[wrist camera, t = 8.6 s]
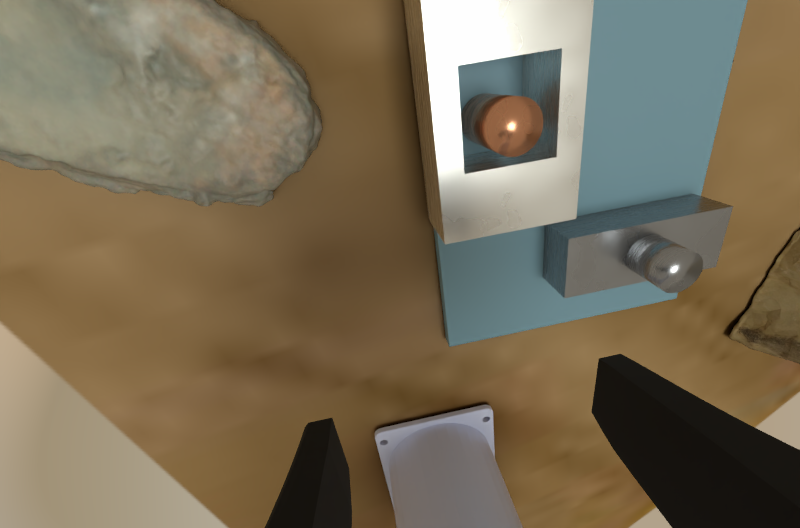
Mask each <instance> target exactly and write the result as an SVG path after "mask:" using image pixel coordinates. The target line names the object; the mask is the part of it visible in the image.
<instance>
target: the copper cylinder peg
mask: <svg viewBox="0 0 800 528" xmlns="http://www.w3.org/2000/svg"><path fill="white" fill-rule="evenodd" d="M461 127H462V132H463V134H464V135H465V137H466V138H467V139H469V140H470V141H472V142H474V143H476V144H479V145H481V146H483V147H485V148H487V149H490V150H492V151H494V152H496V153H499V154H501V155H503V156H506V157H517V156H520V155H523V154H525V153H526V152H528V151H529V150H530V149H532V148H533V147H534V145H535V144H536V143H537V141H538V140H539V138H540V136H541V133H542V129H543V114H542V111H541V109H540V107H539V106H538V104H537V103H536V102H535V101H534V100H532V99H530V98H528V97H524V96H512V95H499V94H486V93H484V94H479V95H476V96H474V97H473V98H471V99H470V100H469V101H468V102H467V103H466V104H465V106H464V108H463V110H462V112H461Z"/></svg>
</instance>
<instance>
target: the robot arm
mask: <svg viewBox="0 0 800 528" xmlns="http://www.w3.org/2000/svg"><path fill="white" fill-rule="evenodd" d="M592 413H593V415H594V417H595V419H596V420H597V422H598V424H599V426H600V427H601V429H602V431H603V433H604V434H605V436H606V438H607V439H608V441H609V442H610V444H611V446H612V447H613V449H614V450H615V452H616V453H617V455H618V456H619V457H620V459H621V460H622V461H623V463H624V464H625V465H626V467H627V468H628V469H629V471H630V472H631V474H632V475H633V476H634V478H635V479H636V480H637V482H638V483H639V484H640V486H641V487H642V488H643V489H644V491H645V492H646V493H647V495H648V496H649V497H650V499H651V500H652V501H653V503H654V504H655V505H656V507H657V508H658V509H659V511H660V512H661V513H662V515H663V516H664V517H665V518H666V520H667V521H668V523H669V524H670V525H671V526H672V528H800V450H798V449H796V448H794V447H792V446H790V445H788V444H786V443H784V442H782V441H780V440H778V439H776V438H774V437H772V436H770V435H768V434H766V433H764V432H762V431H760V430H758V429H756V428H754V427H752V426H750V425H748V424H746V423H745V422H743V421H741V420H739V419H737V418H735V417H733V416H731V415H729V414H728V413H726V412H724V411H722V410H720V409H718V408H716V407H715V406H713V405H711V404H709V403H707V402H705V401H704V400H702V399H700V398H698V397H696V396H695V395H693V394H691V393H689V392H688V391H686V390H684V389H682V388H680V387H679V386H677V385H675V384H673V383H672V382H670V381H668V380H666V379H665V378H663V377H661V376H659V375H658V374H656V373H654V372H652V371H651V370H649V369H647V368H645V367H644V366H642V365H640V364H638V363H636V362H635V361H633V360H631V359H629V358H627V357H625V356H624V355H622V354H618V355H613V356H609V357H604V358H600V359H599V362H598V369H597V377H596V384H595V391H594V399H593V406H592ZM375 440H376V444H377V448H378V452H379V455H380V459H381V463H382V467H383V470H384V474H385V478H386V482H387V485H388V489H389V493H390V497H391V500H392V504H393V508H394V512H395V519H396V527H397V528H523V526H522V524H521V521H520V519H519V517H518V514H517V512H516V509H515V507H514V504H513V502H512V499H511V497H510V495H509V492H508V490H507V487H506V485H505V482H504V480H503V477H502V475H501V473H500V470H499V468H498V465H497V463H496V460H495V449H494V425H493V411H492V408H491V406H489V405H481V406H476V407H472V408H467V409H463V410H459V411H454V412H450V413H445V414H441V415H436V416H432V417H427V418H423V419H419V420H414V421H410V422H405V423H401V424H396V425H392V426H387V427H383V428H379V429H378V430H376V431H375ZM351 527H352V506H351V491H350V477H349V467H348V464H347V461H346V458H345V455H344V452H343V449H342V446H341V443H340V440H339V437H338V434H337V431H336V428H335V425H334V422H333V419H332V418H329V419H324V420H319V421H315V422H310V423H308V424H307V425H306V427H305V429H304V432H303V435H302V438H301V441H300V444H299V446H298V449H297V452H296V455H295V457H294V460H293V462H292V465H291V468H290V470H289V473H288V475H287V478H286V480H285V483H284V485H283V487H282V490H281V492H280V494H279V497H278V499H277V501H276V504H275V506H274V508H273V510H272V513H271V515H270V517H269V520H268V522H267V524H266V526H265V528H351Z"/></svg>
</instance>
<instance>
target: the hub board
mask: <svg viewBox="0 0 800 528" xmlns="http://www.w3.org/2000/svg"><path fill="white" fill-rule="evenodd" d="M746 4H747V0H594V5H593V18H592V30H591V43H590V55H589V68H588V80H587V93H586V105H585V118H584V130H583V142H582V155H581V167H580V180H579V192H578V205H577V216H581V215H586V214H591V213H596V212H601V211H606V210H611V209H616V208H621V207H627V206H632V205H637V204H642V203H647V202H652V201H657V200H662V199H668V198H673V197H678V196H683V195H688V194H696V195H699V196H701V193H702V188H703V184H704V180H705V176H706V172H707V167H708V163H709V159H710V155H711V151H712V146H713V142H714V138H715V134H716V130H717V126H718V121H719V117H720V113H721V109H722V105H723V100H724V96H725V92H726V88H727V84H728V79H729V75H730V71H731V67H732V63H733V59H734V54H735V50H736V46H737V42H738V38H739V33H740V29H741V25H742V21H743V17H744V12H745V8H746ZM522 75H523V55H518V56H512V57H506V58H500V59H494V60H488V61H482V62H475V63H469V64H463V65H458V81H459V96H460V112H462V110H463V108H464V106H465V104H466V103H467V102H468V101H469V100H470V99H471V98H473V97H474V96H476V95H479V94H484V93H486V94H499V95H512V96H522ZM462 142H463V156H465V155H470V154H476V153H481V152H487V151H492V150H490V149H487V148H485V147H483V146H481V145H479V144H476V143H474V142H472V141H470V140H469V139H467V138H466V137H465V135H464V134H463V132H462ZM544 228H545V225H542V226H537V227H532V228H527V229H522V230H517V231H512V232H507V233H501V234H496V235H491V236H486V237H481V238H476V239H471V240H466V241H461V242H455V243H450V244H444V242H443V241H442V239H441V238H440V236H439V235H438V233H437V231H436V230H435V228H434V236H435V245H436V254H437V263H438V271H439V280H440V289H441V298H442V307H443V316H444V325H445V334H446V340H447V342H448V344H449V347H451V346H455V345H460V344H465V343H470V342H474V341H479V340H484V339H488V338H493V337H498V336H502V335H507V334H512V333H516V332H521V331H526V330H530V329H535V328H540V327H544V326H549V325H554V324H558V323H563V322H568V321H573V320H577V319H582V318H587V317H591V316H596V315H601V314H605V313H610V312H615V311H619V310H624V309H629V308H633V307H638V306H643V305H647V304H652V303H657V302H661V301H666V300H671V299H676V297H677V293H678V292H677V293H667V292H664V291H663V290H661V289H660V288H658V287H656V286H655V285H653V284H652V283H650V282H649V281H645V282H641V283H636V284H631V285H626V286H621V287H617V288H612V289H607V290H602V291H598V292H593V293H588V294H583V295H579V296H574V297H569V298H564V297H562V296H561V295H560V294H559V293H558V292H557V291H556V290H555V289H554V288H553V287H552V286H551V285H550V284H549V283H548V282H547V281H546V280H545V279H544V278H543V254H544Z"/></svg>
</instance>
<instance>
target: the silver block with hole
mask: <svg viewBox="0 0 800 528" xmlns="http://www.w3.org/2000/svg"><path fill="white" fill-rule="evenodd" d="M593 5H594V0H404V8H405V17H406V25H407V34H408V42H409V51H410V60H411V68H412V77H413V85H414V94H415V103H416V111H417V120H418V128H419V137H420V146H421V154H422V163H423V171H424V180H425V189H426V197H427V206H428V214H429V220H430V222H431V224H432V225H433V227H434V228H435V230H436V231H437V233H438V235H439V236H440V238H441V239H442V241H443V242H444V244H450V243H455V242H461V241H466V240H471V239H476V238H481V237H486V236H491V235H496V234H501V233H507V232H512V231H517V230H522V229H527V228H532V227H537V226H542V225H547V224H552V223H558V222H563V221H568V220H573V219H576V217H577V205H578V192H579V180H580V167H581V155H582V142H583V130H584V118H585V105H586V93H587V80H588V68H589V55H590V43H591V30H592V18H593ZM518 55H523V75H522V96H524V97H528V98H530V99H532V100H534V101H535V102H536V103H537V104H538V106H539V107H540V109H541V111H542V114H543V129H542V133H541V136H540V138H539V140H538V141H537V143H536V144H535V145H534V147H533V148H532V149H530V150H529V151H528V152H526V153H525V154H523V155H520V156H517V157H506V156H503V155H501V154H499V153H496V152H494V151H487V152H481V153H476V154H470V155H465V156H463V142H462V127H461V112H460V96H459V81H458V65H463V64H469V63H475V62H482V61H488V60H494V59H500V58H506V57H512V56H518Z"/></svg>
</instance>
